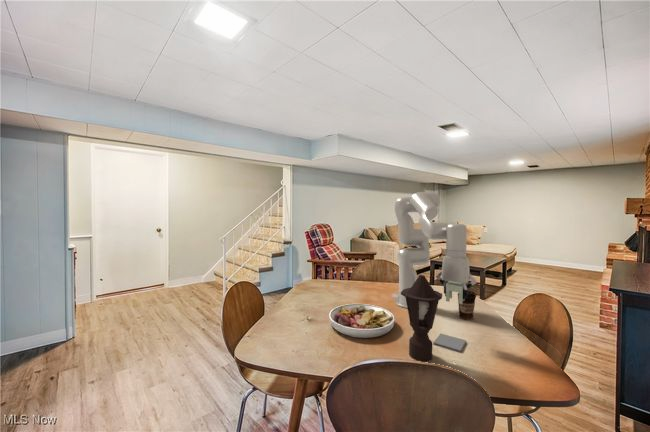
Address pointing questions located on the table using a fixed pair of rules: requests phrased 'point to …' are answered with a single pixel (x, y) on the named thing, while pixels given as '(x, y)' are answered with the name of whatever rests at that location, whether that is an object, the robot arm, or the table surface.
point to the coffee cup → (467, 306)
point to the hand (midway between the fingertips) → (455, 296)
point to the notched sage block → (454, 290)
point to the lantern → (421, 317)
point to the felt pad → (450, 342)
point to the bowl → (361, 320)
